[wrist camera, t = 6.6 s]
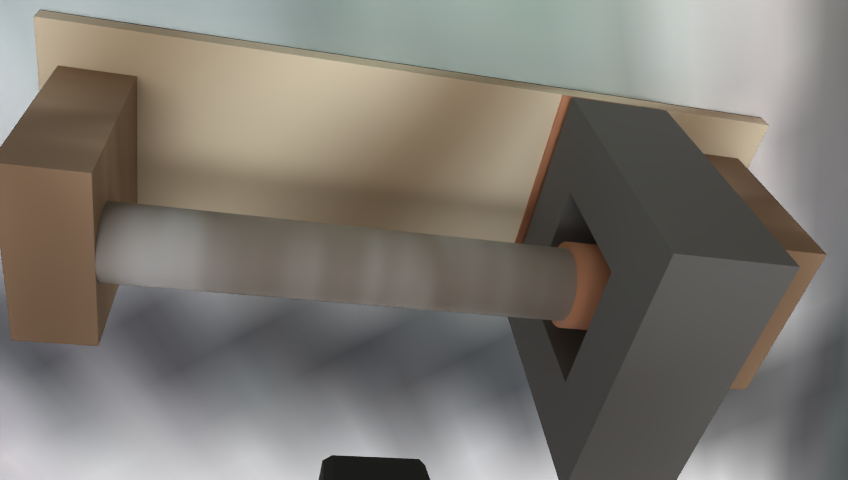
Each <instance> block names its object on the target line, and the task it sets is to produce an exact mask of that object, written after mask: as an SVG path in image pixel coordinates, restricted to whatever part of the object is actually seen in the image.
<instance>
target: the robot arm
mask: <svg viewBox="0 0 848 480" xmlns="http://www.w3.org/2000/svg"><path fill="white" fill-rule="evenodd" d="M319 480H430V478H429V475H428V473H427V470H426V467H425V465H424V464H423V463H422V462H421V461H420V460H419V459H403V458H380V457H357V456H334V455H332V456H330V457H328V458H327V459H325V460H323V461H322V466H321V471H320V476H319Z"/></svg>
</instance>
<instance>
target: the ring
mask: <svg viewBox="0 0 848 480" xmlns="http://www.w3.org/2000/svg"><path fill="white" fill-rule="evenodd" d="M563 242H576V243H586V244H595V245H598V247H599V249H600V250H601V252H602V254H603V256H604V258H605V260H606V262H607V264H608V266H609V268H610V270H611V275H610V277H609V280H608V282H607V284H606V287H605V289H604V292H603V294H602V296H601V299H600V301H599V304H598V306H597V308H596V311H595V313H594V316H593V318H592V320H591V323H590V325H589V327H588V330H581V329H568V328H558V327H556V326H555V325H554V324H553V322H552V321H551V320H543V319H531V318H519V317H508V319H509V322H510V325H511V329H512V332H513V335H514V338H515V341H516V345H517V348H518V351H519V354H520V357H521V361H522V364H523V367H524V370H525V373H526V377H527V380H528V383H529V386H530V389H531V393H532V396H533V399H534V402H535V405H536V409H537V412H538V415H539V418H540V421H541V425H542V428H543V431H544V434H545V437H546V441H547V444H548V447H549V450H550V453H551V456H552V460H553V463H554V466H555V469H556V472H557V476H558V479H559V480H677V478H678V476H679V474H680V473H681V471H682V469H683V468H684V466H685V464H686V462H687V461H688V459H689V457H690V456H691V454H692V452H693V450H694V449H695V447H696V445H697V444H698V442H699V440H700V438H701V437H702V435H703V433H704V431H705V430H706V428H707V426H708V425H709V423H710V421H711V419H712V418H713V416H714V414H715V413H716V411H717V409H718V407H719V406H720V404H721V402H722V401H723V399H724V397H725V395H726V394H727V392H728V390H729V388H730V387H731V385H732V383H733V382H734V380H735V378H736V376H737V375H738V373H739V371H740V370H741V368H742V366H743V364H744V363H745V361H746V359H747V357H748V356H749V354H750V352H751V351H752V349H753V347H754V345H755V344H756V342H757V340H758V339H759V337H760V335H761V333H762V332H763V330H764V328H765V327H766V325H767V323H768V321H769V320H770V318H771V316H772V314H773V313H774V311H775V309H776V308H777V306H778V304H779V302H780V301H781V299H782V297H783V296H784V294H785V292H786V290H787V289H788V287H789V285H790V284H791V282H792V280H793V278H794V277H795V275H796V273H797V271H798V270H799V268H800V266H799V265H798V264H797V263H796V262H795V260H794V259H793V258H792V257H791V256H790V255H789V253H788V252H787V251H786V250H785V249H784V248H783V246H782V245H781V244H780V243H779V242H778V241H777V239H776V238H775V237H774V236H773V235H772V234H771V232H770V231H769V230H768V229H767V228H766V227H765V225H764V224H763V223H762V222H761V221H760V220H759V218H758V217H757V216H756V215H755V214H754V212H753V211H752V210H751V209H750V208H749V207H748V205H747V204H746V203H745V202H744V201H743V200H742V198H741V197H740V196H739V195H738V194H737V193H736V191H735V190H734V189H733V188H732V187H731V186H730V184H729V183H728V182H727V181H726V180H725V179H724V177H723V176H722V175H721V174H720V173H719V172H718V170H717V169H716V168H715V167H714V166H713V165H712V163H711V162H710V161H709V160H708V159H707V157H706V156H705V155H704V154H703V153H702V152H701V150H700V149H699V148H698V147H697V146H696V145H695V143H694V142H693V141H692V140H691V139H690V138H689V136H688V135H687V134H686V133H685V132H684V131H683V129H682V128H681V127H680V126H679V125H678V124H677V122H676V121H675V120H674V119H673V118H672V117H671V115H670V114H669V113H668V112H667V111H664V110H658V109H651V108H644V107H637V106H631V105H624V104H617V103H610V102H604V101H597V100H590V99H583V98H576V97H572V99H571V102H570V105H569V108H568V111H567V114H566V117H565V120H564V123H563V126H562V129H561V132H560V135H559V139H558V142H557V145H556V148H555V151H554V154H553V157H552V160H551V163H550V166H549V169H548V172H547V175H546V178H545V181H544V184H543V187H542V190H541V193H540V196H539V199H538V202H537V205H536V208H535V211H534V214H533V217H532V220H531V223H530V226H529V229H528V232H527V235H526V238H525V241H524V244H530V245H539V246H549V247H558V246H559V245H560V244H561V243H563Z"/></svg>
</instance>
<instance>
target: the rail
mask: <svg viewBox="0 0 848 480" xmlns="http://www.w3.org/2000/svg"><path fill="white" fill-rule="evenodd" d="M34 25H35V38H36V51H37V64H38V77H39V90H40V91H39V93H38V94H37V96H36V97H35V99H34V100H33V101H32V103H31V104H30V106H29V107H28V109H27V110H26V111H25V113H24V114H23V116H22V117H21V119H20V120H19V121H18V123H17V124H16V126H15V127H14V129H13V130H12V131H11V133H10V134H9V136H8V137H7V139H6V140H5V141H4V143H3V144H2V146H1V147H0V249H1V257H2V265H3V274H4V282H5V290H6V298H7V307H8V315H9V323H10V332H11V340H17V341H32V342H47V343H62V344H76V345H91V346H98V345H99V342H100V339H101V336H102V333H103V330H104V327H105V324H106V321H107V318H108V315H109V312H110V309H111V306H112V303H113V300H114V297H115V294H116V291H117V288H118V285H119V284H122V285H134V286H146V287H158V288H170V289H182V290H194V291H206V292H218V293H230V294H242V295H254V296H266V297H278V298H290V299H302V300H314V301H327V302H339V303H351V304H363V305H375V306H387V307H399V308H411V309H423V310H435V311H447V312H459V313H471V314H483V315H495V316H507V317H519V318H531V319H543V320H551V321H552V322H553V324H554V325H555V326H556V327H558V328H568V329H581V330H588V327H589V325H590V323H591V320H592V318H593V316H594V313H595V311H596V308H597V306H598V304H599V301H600V299H601V296H602V294H603V292H604V289H605V287H606V284H607V282H608V280H609V277H610V275H611V270H610V268H609V266H608V264H607V262H606V260H605V258H604V256H603V254H602V252H601V250H600V249H599V247H598V245H595V244H586V243H576V242H563V243H561V244H560V245H559V246H558V247H549V246H539V245H530V244H524V241H525V238H526V235H527V232H528V229H529V226H530V223H531V220H532V217H533V214H534V211H535V208H536V205H537V202H538V199H539V196H540V193H541V190H542V187H543V184H544V181H545V178H546V175H547V172H548V169H549V166H550V163H551V160H552V157H553V154H554V151H555V148H556V145H557V142H558V139H559V135H560V132H561V129H562V126H563V123H564V120H565V117H566V114H567V111H568V108H569V105H570V102H571V99H572V97H576V98H583V99H590V100H597V101H604V102H610V103H617V104H624V105H631V106H637V107H644V108H651V109H658V110H664V111H667V112H668V113H669V114H670V115H671V117H672V118H673V119H674V120H675V121H676V122H677V124H678V125H679V126H680V127H681V128H682V129H683V131H684V132H685V133H686V134H687V135H688V136H689V138H690V139H691V140H692V141H693V142H694V143H695V145H696V146H697V147H698V148H699V149H700V150H701V152H702V153H703V154H704V155H705V156H706V157H707V159H708V160H709V161H710V162H711V163H712V165H713V166H714V167H715V168H716V169H717V170H718V172H719V173H720V174H721V175H722V176H723V177H724V179H725V180H726V181H727V182H728V183H729V184H730V186H731V187H732V188H733V189H734V190H735V191H736V193H737V194H738V195H739V196H740V197H741V198H742V200H743V201H744V202H745V203H746V204H747V205H748V207H749V208H750V209H751V210H752V211H753V212H754V214H755V215H756V216H757V217H758V218H759V220H760V221H761V222H762V223H763V224H764V225H765V227H766V228H767V229H768V230H769V231H770V232H771V234H772V235H773V236H774V237H775V238H776V239H777V241H778V242H779V243H780V244H781V245H782V246H783V248H784V249H785V250H786V251H787V252H788V253H789V255H790V256H791V257H792V258H793V259H794V260H795V262H796V263H797V264H798V265H799V266H800V268H799V270H798V271H797V273H796V275H795V277H794V278H793V280H792V282H791V284H790V285H789V287H788V289H787V290H786V292H785V294H784V296H783V297H782V299H781V301H780V302H779V304H778V306H777V308H776V309H775V311H774V313H773V314H772V316H771V318H770V320H769V321H768V323H767V325H766V327H765V328H764V330H763V332H762V333H761V335H760V337H759V339H758V340H757V342H756V344H755V345H754V347H753V349H752V351H751V352H750V354H749V356H748V357H747V359H746V361H745V363H744V364H743V366H742V368H741V370H740V371H739V373H738V375H737V376H736V378H735V380H734V382H733V383H732V385H731V387H730V388H732V389H747V387H748V385H749V384H750V382H751V380H752V379H753V377H754V375H755V374H756V372H757V370H758V369H759V367H760V365H761V364H762V362H763V360H764V359H765V357H766V355H767V353H768V352H769V350H770V348H771V347H772V345H773V343H774V342H775V340H776V338H777V337H778V335H779V333H780V332H781V330H782V328H783V327H784V325H785V323H786V322H787V320H788V318H789V317H790V315H791V313H792V312H793V310H794V308H795V307H796V305H797V303H798V302H799V300H800V298H801V297H802V295H803V293H804V292H805V290H806V288H807V287H808V285H809V283H810V282H811V280H812V278H813V277H814V275H815V273H816V272H817V270H818V268H819V267H820V265H821V263H822V262H823V260H824V258H825V257H826V253H825V252H824V251H823V250H822V249H821V248H820V247H819V246H818V245H817V244H816V243H815V241H814V240H813V239H812V238H811V237H810V236H809V235H808V234H807V233H806V232H805V231H804V230H803V228H802V227H801V226H800V225H799V224H798V223H797V222H796V221H795V220H794V219H793V218H792V217H791V215H790V214H789V213H788V212H787V211H786V210H785V209H784V208H783V207H782V206H781V205H780V203H779V202H778V201H777V200H776V199H775V198H774V197H773V196H772V195H771V194H770V193H769V192H768V190H767V189H766V188H765V187H764V186H763V185H762V184H761V183H760V182H759V181H758V180H757V179H756V177H755V176H754V175H753V174H752V173H751V172H750V171H749V170H748V167H749V165H750V163H751V161H752V159H753V157H754V155H755V153H756V151H757V149H758V147H759V145H760V143H761V141H762V139H763V137H764V134H765V132H766V130H767V128H768V126H769V125H768V124H767V123H766V122H765V121H764V120H763V119H762V118H757V117H750V116H744V115H737V114H730V113H724V112H717V111H710V110H704V109H697V108H690V107H684V106H677V105H670V104H664V103H657V102H650V101H643V100H637V99H630V98H623V97H617V96H610V95H603V94H597V93H590V92H583V91H577V90H570V89H563V88H557V87H550V86H543V85H537V84H530V83H523V82H517V81H510V80H503V79H497V78H490V77H483V76H477V75H470V74H463V73H457V72H450V71H443V70H437V69H430V68H423V67H417V66H410V65H403V64H397V63H390V62H383V61H377V60H370V59H363V58H357V57H350V56H343V55H337V54H330V53H323V52H317V51H310V50H303V49H297V48H290V47H283V46H277V45H270V44H263V43H257V42H250V41H243V40H237V39H230V38H223V37H217V36H210V35H203V34H197V33H190V32H183V31H177V30H170V29H163V28H157V27H150V26H143V25H137V24H130V23H123V22H117V21H110V20H103V19H97V18H90V17H83V16H77V15H70V14H63V13H57V12H50V11H43V10H39V11H38V12H37V13H36V14H35V16H34Z"/></svg>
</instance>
